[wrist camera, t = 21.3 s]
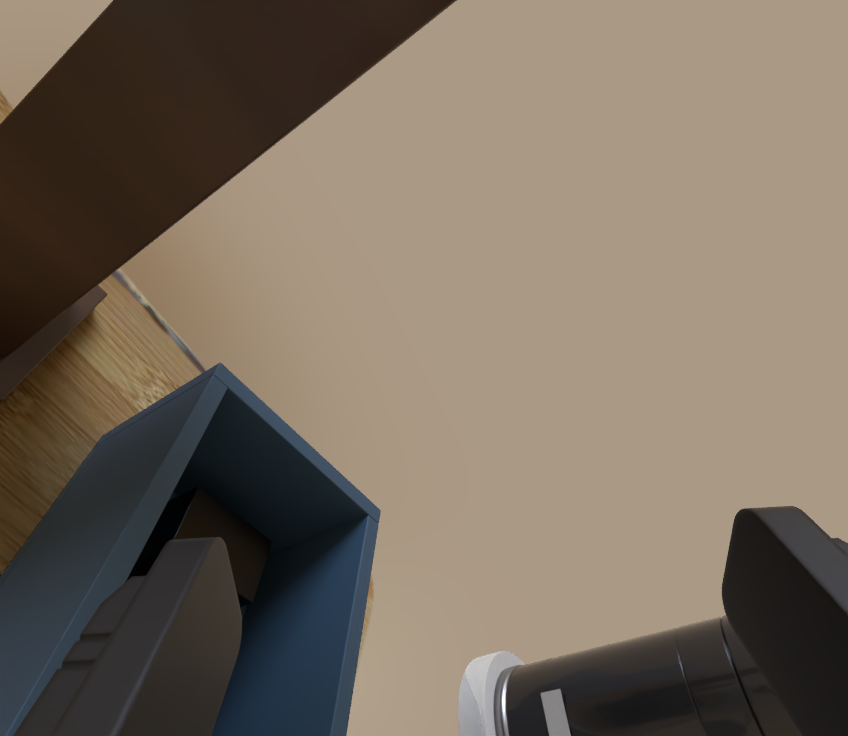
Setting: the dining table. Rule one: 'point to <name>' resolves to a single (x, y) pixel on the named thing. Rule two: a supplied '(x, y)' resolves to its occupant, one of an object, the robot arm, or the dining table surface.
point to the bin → (251, 500)
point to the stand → (158, 136)
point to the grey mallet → (204, 520)
